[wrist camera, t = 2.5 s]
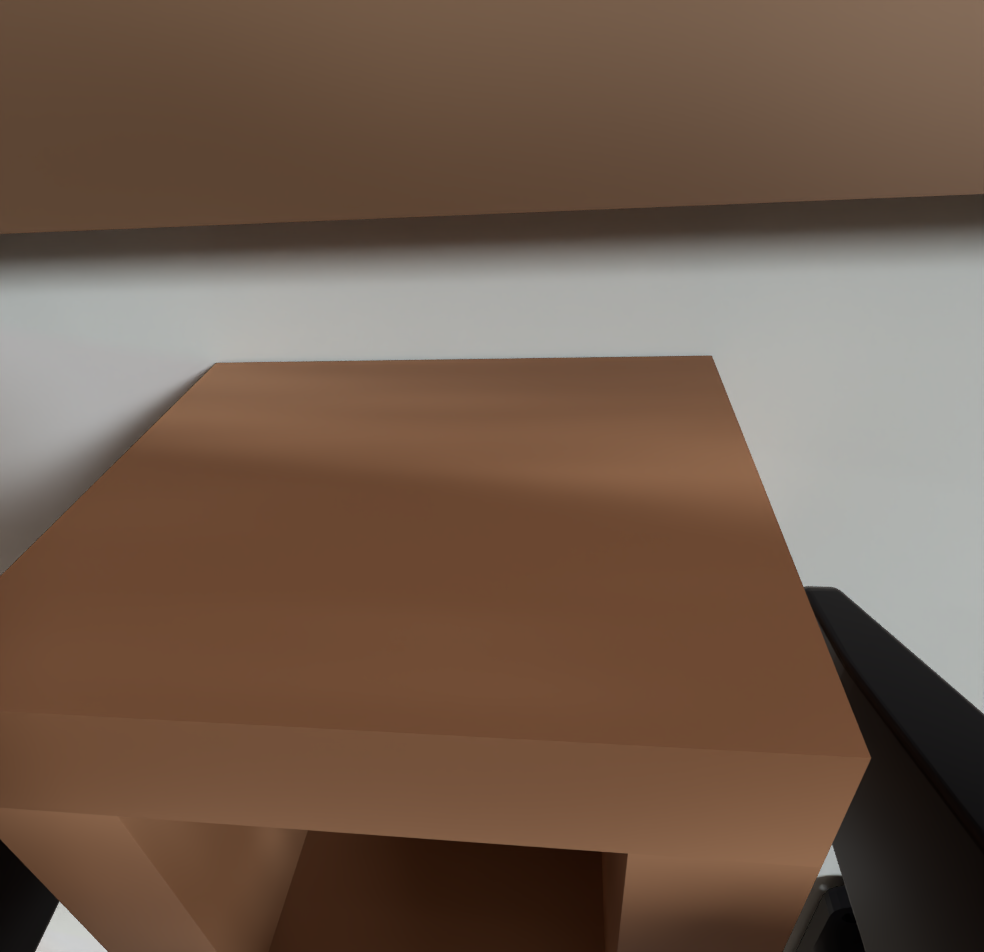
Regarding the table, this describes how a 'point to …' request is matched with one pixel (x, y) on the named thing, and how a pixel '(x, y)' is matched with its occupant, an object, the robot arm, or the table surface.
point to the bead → (425, 671)
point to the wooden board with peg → (476, 107)
